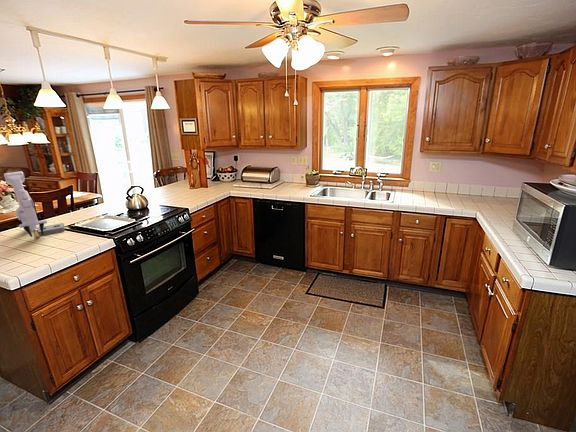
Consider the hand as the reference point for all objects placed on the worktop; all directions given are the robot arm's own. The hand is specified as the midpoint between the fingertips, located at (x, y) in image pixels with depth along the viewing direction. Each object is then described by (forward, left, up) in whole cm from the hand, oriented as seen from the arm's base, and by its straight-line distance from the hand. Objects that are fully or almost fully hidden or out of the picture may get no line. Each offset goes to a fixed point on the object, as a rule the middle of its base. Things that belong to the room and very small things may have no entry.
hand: (37, 235), depth 204 cm
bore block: (-10, +7, -2) cm, 12 cm away
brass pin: (0, 0, -2) cm, 2 cm away
